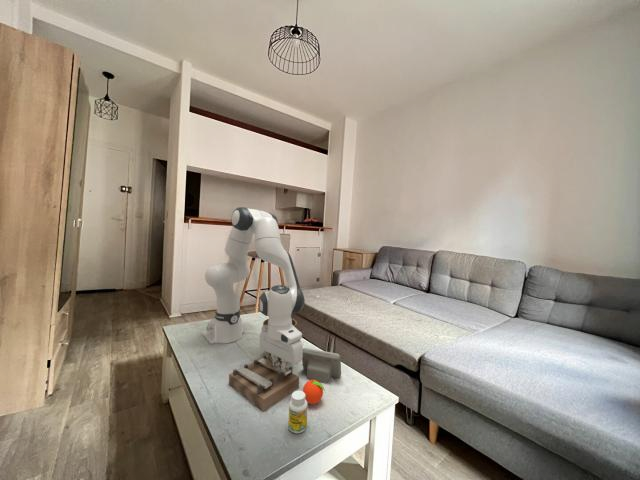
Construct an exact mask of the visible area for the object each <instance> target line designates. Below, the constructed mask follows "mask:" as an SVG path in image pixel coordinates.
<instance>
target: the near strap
mask: <svg viewBox="0 0 640 480" xmlns="http://www.w3.org/2000/svg"><path fill="white" fill-rule="evenodd" d="M238 369H239V370H238ZM238 369H236V370H237V373H238V374H240V375H242V376H243V377H245V378H247V379H249V380H250V381H252V382H254V383H255V384H257V385H259V384H261V385H262V388H264V389H266V388H267V387H269V386H271V385H272V382H271V381H269V380H267V379H265V378H263V377H261V376H259V375H258V374H256V373H254V372H252V371H250V370H248V369H247V368H245V367H244V366H243V368H242V367H241V369H240V368H238Z"/></svg>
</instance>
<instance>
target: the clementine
mask: <svg viewBox="0 0 640 480" xmlns="http://www.w3.org/2000/svg"><path fill="white" fill-rule="evenodd" d="M302 391H303V392H304V393H305V400H306V401H307V404H311V405H315V404H317V403H319V402H320V401H321V400H322V398H323V395H324V392H325V393H326V390H325V388H324V386H323V385H322V384H321V382H318V381H316V380H308V381H307V382H306V383H305V384H304V385H303V388H302Z"/></svg>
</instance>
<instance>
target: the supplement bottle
mask: <svg viewBox="0 0 640 480" xmlns="http://www.w3.org/2000/svg"><path fill="white" fill-rule="evenodd" d="M307 427H308V402H307V401H306V400H305V393H304V392H303V390H294V391H293V392H291V399H290V401H289V403H288V429H289V431H290V432H291V433H294V434H300V433H303V432H305V430H306V429H307Z"/></svg>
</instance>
